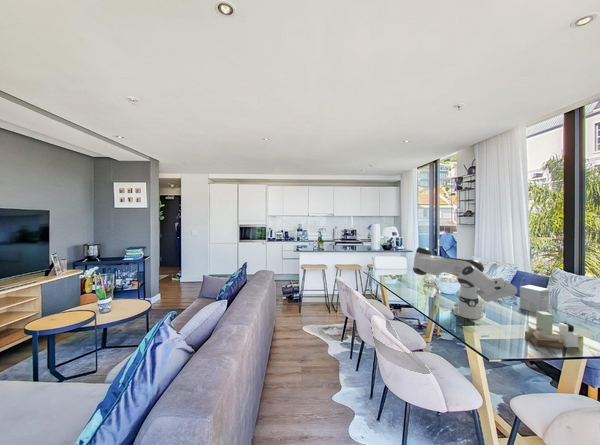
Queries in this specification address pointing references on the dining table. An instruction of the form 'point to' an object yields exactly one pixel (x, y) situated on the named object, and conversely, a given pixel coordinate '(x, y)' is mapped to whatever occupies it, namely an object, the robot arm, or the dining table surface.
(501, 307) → the dining table surface
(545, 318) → the sage block
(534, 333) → the tower top
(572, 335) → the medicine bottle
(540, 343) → the tower base
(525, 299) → the supplement box
